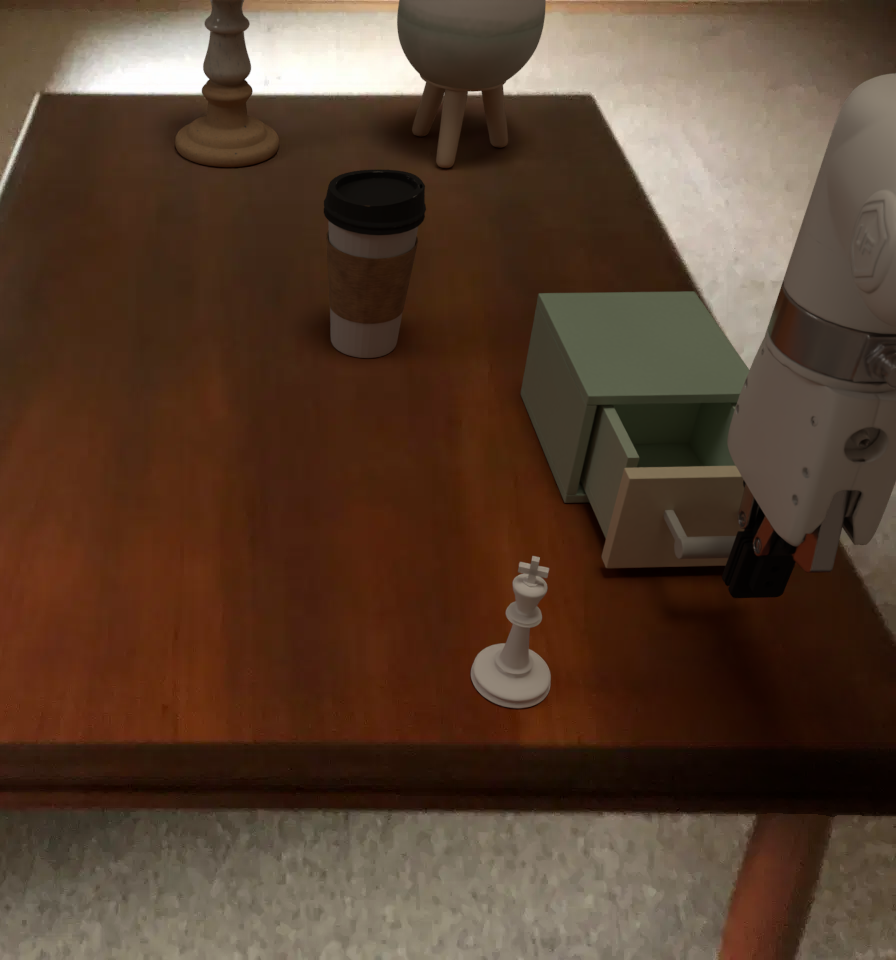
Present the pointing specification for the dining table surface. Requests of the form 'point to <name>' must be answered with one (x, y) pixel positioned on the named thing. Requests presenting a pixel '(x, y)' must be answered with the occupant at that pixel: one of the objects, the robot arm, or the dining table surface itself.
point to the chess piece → (516, 648)
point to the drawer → (663, 484)
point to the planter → (466, 59)
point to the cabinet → (618, 366)
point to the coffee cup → (371, 256)
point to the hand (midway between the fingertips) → (750, 588)
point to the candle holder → (227, 99)
